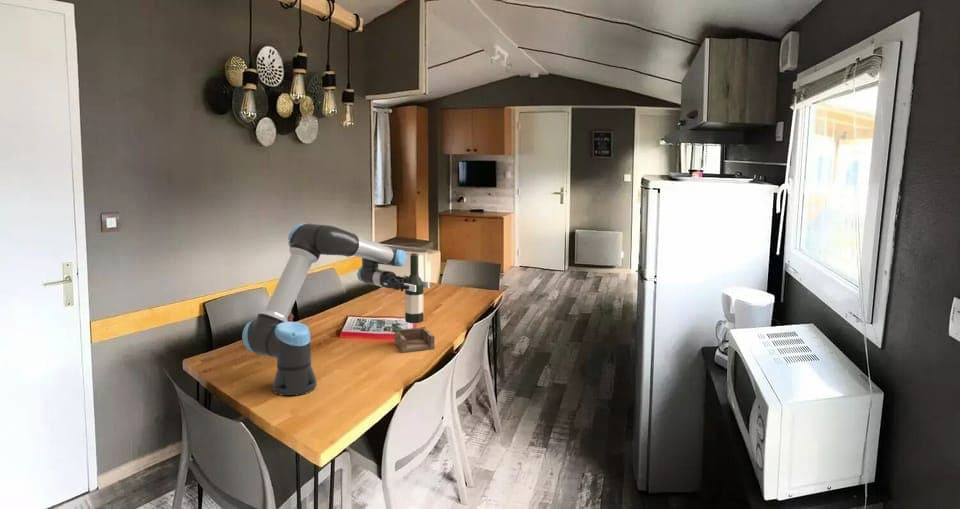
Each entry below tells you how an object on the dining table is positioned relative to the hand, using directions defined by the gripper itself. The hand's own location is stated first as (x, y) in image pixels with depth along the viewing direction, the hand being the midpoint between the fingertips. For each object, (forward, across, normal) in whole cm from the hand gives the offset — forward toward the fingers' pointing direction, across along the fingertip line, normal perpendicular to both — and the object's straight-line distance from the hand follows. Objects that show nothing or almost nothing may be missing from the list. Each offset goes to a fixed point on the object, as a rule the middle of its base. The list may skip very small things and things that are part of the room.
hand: (422, 286), depth 240 cm
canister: (-54, +35, -28) cm, 70 cm away
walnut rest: (-5, 0, -28) cm, 28 cm away
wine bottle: (-5, 0, -16) cm, 17 cm away
